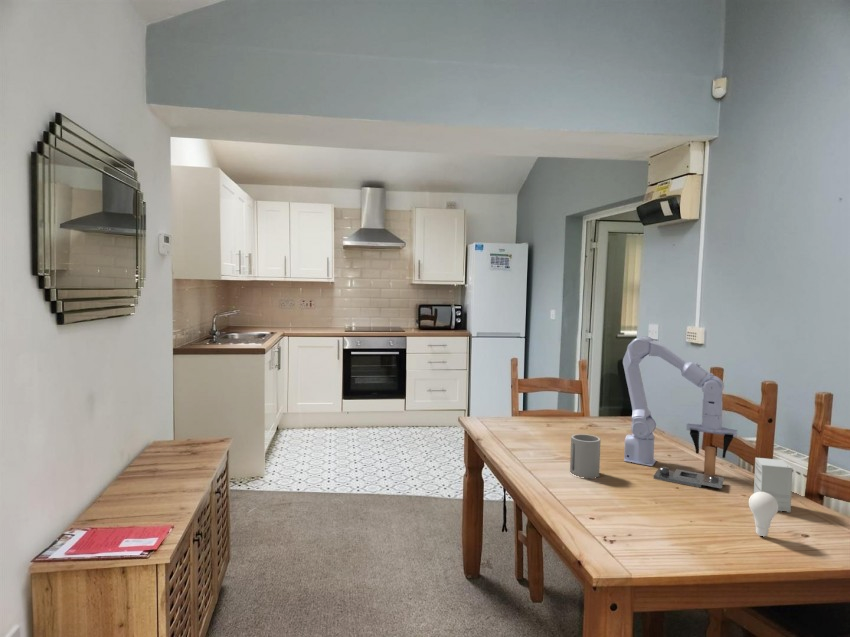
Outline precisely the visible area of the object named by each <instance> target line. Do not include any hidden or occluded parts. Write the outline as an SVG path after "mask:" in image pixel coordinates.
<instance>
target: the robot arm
mask: <svg viewBox="0 0 850 637" xmlns="http://www.w3.org/2000/svg"><path fill="white" fill-rule="evenodd" d="M647 356H649V357H658V358H661V359H663V360H664V361H665V362H667V363H669V364H670V365H672V366H673V367H675V368H676V369H678V370H680V373H681V376H682V377H684V378H685V379H686V380H688V381H689V382H691V383H692V384H693V385H695V386H696V387H698V388H701V390H702V392H703V399H702V411H701V412H702V414H701V424H698V423H697V424H696V423H686V431H688V432H689V435H690V437H691V439H692V442H693V445H694V449H695V454H698V455H699V453H700V432H701V433H707V434H715V435H721V436H723V449H722V458H723V459H726V455H727V452H728V451H727V450H728V448H729V447H730V444H731V442H732V441H733V439H734V438H738V429H731V428H727V427H723V426H722V424H723V407H724V406H723V404H724V403H723V391H724V389H725V383H724V381H723V380H722V379H721V378H720V377H718V376H715V375H714V373H712V372H709V371H707V370H705V369H704V368H702V367H701V364H700V363H698V362H696V363H695V362H693V361H692V362H691V361H690V362H687V361H685V360H684V359H682V358H681V357H680V356H678V355H677V354H676V353H675V352H673V351H672V350H671V349H669V348H668V347H667V346H665V345H664V344H662V343H661V342H659V341H657V340H655V339H653V338H652V337H651V336H641V337H637V338H633V339H632V340H631V342H630V343H629V344H628V345H627V347H626V351H625V354H624V356H623V359H622V365H623V369H624V374H625V380H626V384H627V388H628V389H627V390H628V395H629V398H630V404H631V410H632V415H631V427H630V430H631V433H632V434H626V436H625V439H624V451H623V452H624V456H623V457H624V458H623V461H624V462H626V463H631V462H632V463H633V464H637V465H638V464H639V465H643V466H649V467H653V466H654V465H655V463H656V462H657V459H656V458H654V457H655V456H654V455H655V435H654V431H655V430H656V428H657V423H656V421H655V419H654V418H653V416H652V413H651V410H649V407H648V403H647V398H646V393H645V389H644V384H643V378H642V374H641V369H640V368H641V367H640V363H641V362H642V361H643V360H644V358H645V357H647ZM632 463H631V464H632Z"/></svg>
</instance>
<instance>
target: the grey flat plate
mask: <svg viewBox="0 0 850 637" xmlns="http://www.w3.org/2000/svg"><path fill="white" fill-rule="evenodd" d="M653 479H655V480H659V481H664V482H668V483H675V484H680V485H686V486H691V487H695V488H699V487H700V489H701V488H702V486H707V487H710V488H714V489H717V488H718V489H722V488H723V485H724V477H722V476H717V475H715V476H712V475H706V474H704V473H700V472H695V471H691V470H690V471H689V470H684V469H678V468H676V469H675V471H673V470H670V467H667V466H659V468H657V470H656V471H655V473H654V475H653Z"/></svg>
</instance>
